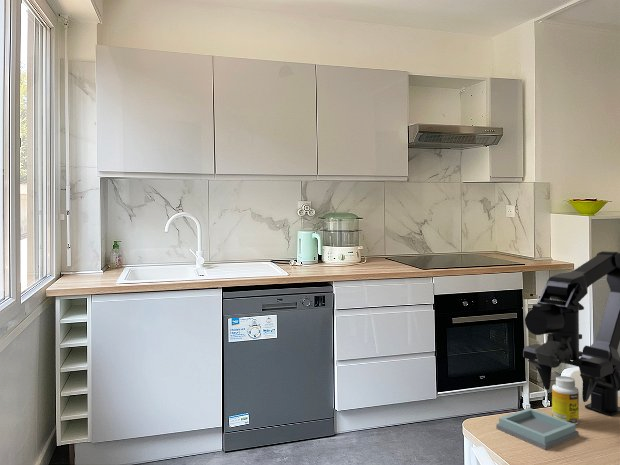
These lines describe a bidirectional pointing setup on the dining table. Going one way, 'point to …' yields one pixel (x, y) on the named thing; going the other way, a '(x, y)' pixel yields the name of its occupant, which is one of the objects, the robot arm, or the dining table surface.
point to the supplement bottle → (565, 400)
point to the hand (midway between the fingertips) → (565, 395)
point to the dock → (537, 428)
